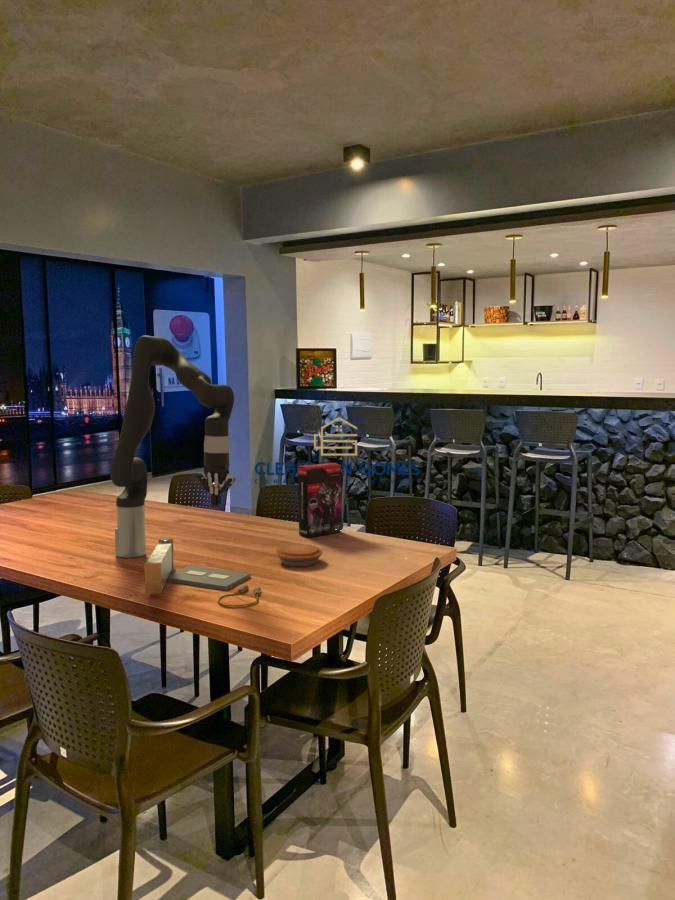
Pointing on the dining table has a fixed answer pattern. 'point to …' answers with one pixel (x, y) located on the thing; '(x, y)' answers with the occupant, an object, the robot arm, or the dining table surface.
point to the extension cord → (241, 590)
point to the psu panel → (207, 577)
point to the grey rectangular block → (159, 566)
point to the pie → (299, 555)
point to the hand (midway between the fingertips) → (215, 506)
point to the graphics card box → (319, 499)
